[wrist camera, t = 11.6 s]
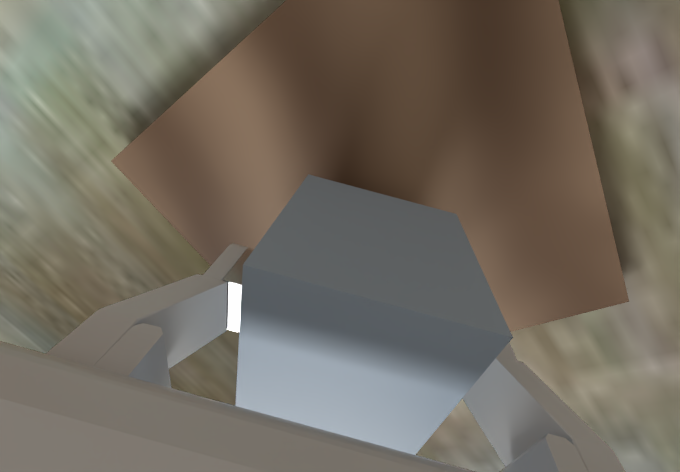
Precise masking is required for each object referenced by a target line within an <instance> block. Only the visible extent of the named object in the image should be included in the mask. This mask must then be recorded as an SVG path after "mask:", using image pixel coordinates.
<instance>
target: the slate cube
mask: <svg viewBox="0 0 680 472" xmlns="http://www.w3.org/2000/svg"><path fill="white" fill-rule="evenodd" d="M512 338H513V337H512V335H511V332H510V330H509V328H508V326H507V324H506V321H505V319H504V317H503V315H502V313H501V310H500V308H499V306H498V304H497V302H496V300H495V297H494V295H493V293H492V291H491V289H490V286H489V284H488V282H487V280H486V278H485V275H484V273H483V271H482V269H481V267H480V264H479V262H478V260H477V258H476V256H475V253H474V251H473V249H472V247H471V245H470V242H469V240H468V238H467V236H466V234H465V232H464V229H463V227H462V225H461V223H460V221H459V218H458V216H457V214H455V213H451V212H447V211H443V210H440V209H436V208H432V207H428V206H425V205H421V204H417V203H413V202H410V201H406V200H402V199H399V198H395V197H391V196H387V195H384V194H380V193H376V192H372V191H369V190H365V189H361V188H357V187H354V186H350V185H346V184H342V183H339V182H335V181H331V180H327V179H324V178H320V177H316V176H313V175H309V174H308V176H307V177H306V178H305V180H304V181H303V183H302V184H301V185H300V187H299V188H298V189H297V191H296V192H295V194H294V195H293V196H292V198H291V199H290V200H289V202H288V203H287V205H286V206H285V207H284V209H283V210H282V211H281V213H280V214H279V216H278V217H277V218H276V220H275V221H274V223H273V224H272V225H271V227H270V228H269V229H268V231H267V232H266V234H265V235H264V236H263V238H262V239H261V240H260V242H259V243H258V245H257V246H256V247H255V249H254V250H253V251H252V253H251V254H250V256H249V257H248V258H247V260H246V261H245V262H244V264H243V273H242V292H241V310H240V329H239V348H238V367H237V386H236V405H235V406H238V407H242V408H245V409H249V410H253V411H256V412H260V413H263V414H267V415H271V416H274V417H278V418H282V419H285V420H289V421H293V422H296V423H300V424H304V425H307V426H311V427H315V428H318V429H322V430H326V431H329V432H333V433H337V434H340V435H344V436H348V437H351V438H355V439H359V440H362V441H366V442H370V443H373V444H377V445H380V446H384V447H388V448H391V449H395V450H399V451H402V452H406V453H410V454H413V455H415V454H416V453H417V452H418V451H419V450H420V448H421V447H422V446H423V445H424V444H425V442H426V441H427V440H428V439H429V438H430V436H431V435H432V434H433V433H434V432H435V430H436V429H437V428H438V427H439V426H440V424H441V423H442V422H443V421H444V420H445V418H446V417H447V416H448V415H449V414H450V412H451V411H452V410H453V409H454V408H455V406H456V405H457V404H458V403H459V402H460V400H461V399H462V398H463V397H464V396H465V394H466V393H467V392H468V391H469V390H470V388H471V387H472V386H473V385H474V384H475V382H476V381H477V380H478V379H479V378H480V376H481V375H482V374H483V373H484V372H485V370H486V369H487V368H488V367H489V366H490V364H491V363H492V362H493V361H494V360H495V358H496V357H497V356H498V355H499V354H500V352H501V351H502V350H503V349H504V348H505V346H506V345H507V344H508V343H509V342H510V340H511V339H512Z"/></svg>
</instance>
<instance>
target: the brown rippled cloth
mask: <svg viewBox="0 0 680 472" xmlns="http://www.w3.org/2000/svg"><path fill="white" fill-rule="evenodd" d="M112 162H113V164H114V165H115V166H116V167H117V168H118V169H119V170H120V171H121V172H122V173H123V174H124V175H125V176H126V177H127V178H128V179H129V180H130V181H131V182H132V184H133V185H134V186H135V187H136V188H137V189H138V190H139V191H140V192H141V193H142V194H143V195H144V196H145V197H146V198H147V199H148V200H149V201H150V202H151V204H152V205H153V206H154V207H155V208H156V209H157V210H158V211H159V212H160V213H161V214H162V215H163V216H164V217H165V218H166V219H167V220H168V221H169V222H170V224H171V225H172V226H173V227H174V228H175V229H176V230H177V231H178V232H179V233H180V234H181V235H182V236H183V237H184V238H185V239H186V240H187V241H188V242H189V244H190V245H191V246H192V247H193V248H194V249H195V250H196V251H197V252H198V253H199V254H200V255H201V256H202V257H203V258H204V259H205V260H206V261H207V262H208V264H209V265H210V266H211V265H212V264H213V263H214V262H215V261H216V260H217V258H218V257H219V256H220V255H221V254H222V253H223V252H224V251H225V249H226V248H227V247H228V246H229V245H230V244H233V243H235V244H238V245H242V246H245V247H248V248H253V249H255V247H256V246H257V245H258V243H259V242H260V240H261V239H262V238H263V236H264V235H265V234H266V232H267V231H268V229H269V228H270V227H271V225H272V224H273V223H274V221H275V220H276V218H277V217H278V216H279V214H280V213H281V211H282V210H283V209H284V207H285V206H286V205H287V203H288V202H289V200H290V199H291V198H292V196H293V195H294V194H295V192H296V191H297V189H298V188H299V187H300V185H301V184H302V183H303V181H304V180H305V178H306V177H307V176H308V174H309V175H313V176H316V177H320V178H324V179H327V180H331V181H335V182H339V183H342V184H346V185H350V186H354V187H357V188H361V189H365V190H369V191H372V192H376V193H380V194H384V195H387V196H391V197H395V198H399V199H402V200H406V201H410V202H413V203H417V204H421V205H425V206H428V207H432V208H436V209H440V210H443V211H447V212H451V213H455V214H457V216H458V218H459V221H460V223H461V225H462V227H463V229H464V232H465V234H466V236H467V238H468V240H469V242H470V245H471V247H472V249H473V251H474V253H475V256H476V258H477V260H478V262H479V264H480V267H481V269H482V271H483V273H484V275H485V278H486V280H487V282H488V284H489V286H490V289H491V291H492V293H493V295H494V297H495V300H496V302H497V304H498V306H499V308H500V310H501V313H502V315H503V317H504V319H505V321H506V324H507V326H508V328H509V330H510V332H511V331H515V330H519V329H523V328H527V327H531V326H535V325H539V324H543V323H547V322H550V321H554V320H558V319H562V318H566V317H570V316H574V315H578V314H582V313H586V312H590V311H593V310H597V309H601V308H605V307H609V306H613V305H617V304H621V303H625V302H629V299H628V295H627V291H626V286H625V282H624V278H623V274H622V269H621V265H620V261H619V256H618V252H617V248H616V244H615V239H614V235H613V231H612V227H611V222H610V218H609V214H608V210H607V205H606V201H605V197H604V193H603V188H602V184H601V180H600V176H599V171H598V167H597V163H596V158H595V154H594V150H593V146H592V141H591V137H590V133H589V129H588V124H587V120H586V116H585V112H584V107H583V103H582V99H581V95H580V90H579V86H578V82H577V77H576V73H575V69H574V65H573V60H572V56H571V52H570V48H569V43H568V39H567V35H566V31H565V26H564V22H563V18H562V14H561V9H560V5H559V1H558V0H286V1H285V2H284V3H283V4H282V5H281V6H279V7H278V8H277V9H276V10H275V11H274V12H273V13H272V14H271V15H270V16H269V17H267V18H266V19H265V20H264V21H263V22H262V23H261V24H260V25H259V26H258V27H257V28H255V29H254V30H253V31H252V32H251V33H250V34H249V35H248V36H247V37H246V38H245V39H243V40H242V41H241V42H240V43H239V44H238V45H237V46H236V47H235V48H234V49H233V50H231V51H230V52H229V53H228V54H227V55H226V56H225V57H224V58H223V59H222V60H221V61H219V62H218V63H217V64H216V65H215V66H214V67H213V68H212V69H211V70H210V71H209V72H208V73H206V74H205V75H204V76H203V77H202V78H201V79H200V80H199V81H198V82H197V83H196V84H194V85H193V86H192V87H191V88H190V89H189V90H188V91H187V92H186V93H185V94H184V95H182V96H181V97H180V98H179V99H178V100H177V101H176V102H175V103H174V104H173V105H172V106H170V107H169V108H168V109H167V110H166V111H165V112H164V113H163V114H162V115H161V116H160V117H158V118H157V119H156V120H155V121H154V122H153V123H152V124H151V125H150V126H149V127H148V128H146V129H145V130H144V131H143V132H142V133H141V134H140V135H139V136H138V137H137V138H136V139H134V140H133V141H132V142H131V143H130V144H129V145H128V146H127V147H126V148H125V149H124V150H122V151H121V152H120V153H119V154H118V155H117V156H116V157H115V158H114V159H113V160H112Z"/></svg>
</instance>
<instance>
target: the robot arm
mask: <svg viewBox="0 0 680 472" xmlns="http://www.w3.org/2000/svg"><path fill="white" fill-rule="evenodd" d="M253 250H254V249H253V248H248V247H245V246H242V245H238V244H235V243H233V244H230V245H229V246H228V247H227V248H226V249H225V251H224V252H223V253H222V254H221V255H220V256H219V257H218V258H217V260H216V261H215V262H214V263H213V264H212V265H211V266H210V267H209V269H208V270H207V271H206V272H205V273H204V274H203V275H200V274H196V275H193V276H190V277H187V278H185V279H182V280H179V281H176V282H173V283H171V284H168V285H165V286H162V287H159V288H156V289H154V290H151V291H148V292H145V293H142V294H140V295H137V296H134V297H131V298H128V299H126V300H123V301H120V302H117V303H114V304H111V305H109V306H106V307H103V308H100V309H98V310H97V311H96V312H95V313H94V314H92V315H91V316H90V317H89V318H88V319H86V320H85V321H84V322H83V323H82V324H80V325H79V326H78V327H77V328H76V329H75V330H73V331H72V332H71V333H70V334H69V335H67V336H66V337H65V338H64V339H63V340H61V341H60V342H59V343H58V344H57V345H55V346H54V347H53V348H52V349H51V350H49V351H48V352H47V353H46V354H45V353H42V352H38V351H34V350H31V349H27V348H24V347H20V346H16V345H13V344H9V343H5V342H2V341H0V472H475V471H472V470H468V469H464V468H461V467H457V466H453V465H450V464H446V463H442V462H439V461H435V460H431V459H428V458H424V457H421V456H417V455H413V454H410V453H406V452H402V451H399V450H395V449H391V448H388V447H384V446H380V445H377V444H373V443H370V442H366V441H362V440H359V439H355V438H351V437H348V436H344V435H340V434H337V433H333V432H329V431H326V430H322V429H318V428H315V427H311V426H307V425H304V424H300V423H296V422H293V421H289V420H285V419H282V418H278V417H274V416H271V415H267V414H263V413H260V412H256V411H253V410H249V409H245V408H242V407H238V406H234V405H231V404H227V403H223V402H220V401H216V400H213V399H209V398H205V397H202V396H198V395H194V394H191V393H187V392H183V391H180V390H176V389H173V388H171V381H170V375H169V369H170V368H171V367H173V366H174V365H176V364H177V363H179V362H180V361H182V360H183V359H185V358H186V357H188V356H189V355H191V354H192V353H194V352H195V351H197V350H198V349H200V348H201V347H203V346H204V345H206V344H207V343H209V342H210V341H212V340H214V339H215V338H217V337H218V336H220V335H221V334H223V333H224V332H226V329H228V330H232V331H236V332H239V329H240V310H241V292H242V273H243V264H244V262H245V261H246V260H247V258H248V257H249V256H250V254H251V253H252V251H253ZM462 399H463V400H464V402H465V403H466V405H467V406H468V408H469V410H470V411H471V413H472V414H473V416H474V418H475V419H476V421H477V422H478V424H479V426H480V427H481V429H482V430H483V432H484V434H485V435H486V437H487V438H488V440H489V441H490V443H491V445H492V446H493V448H494V449H495V451H496V453H497V454H498V456H499V457H500V459H501V461H502V462H503V464H504V465H505V468H503V469H502V470H501V471H500V472H626V471H625V470H624V468H623V466H622V465H621V463H620V461H619V459H618V458H617V456H616V454H615V453H614V451H613V449H611V448H610V447H609V446H608V445H607V444H606V443H605V442H604V441H603V440H602V439H601V438H600V437H599V436H598V435H597V434H596V433H595V432H594V431H593V430H592V429H591V428H590V427H589V426H588V425H587V424H586V423H585V422H584V421H583V420H582V419H581V418H580V417H579V416H578V415H577V414H576V413H575V412H574V411H572V410H571V409H570V408H569V407H568V406H567V405H566V404H565V403H564V402H563V401H562V400H561V399H560V398H559V397H558V396H557V395H556V394H555V393H554V392H553V391H552V390H551V389H550V388H549V387H548V386H547V385H546V384H545V383H544V382H543V381H542V380H541V379H540V378H539V377H538V376H537V375H536V374H535V373H533V372H532V371H531V370H530V369H529V368H528V367H527V366H526V365H525V364H524V363H523V362H520V361H517V359H516V356H515V354H514V352H513V350H512V347H511V345H510V343H508V344H507V345H506V346H505V348H504V349H503V350H502V351H501V352H500V354H499V355H498V356H497V357H496V358H495V360H494V361H493V362H492V363H491V364H490V366H489V367H488V368H487V369H486V370H485V372H484V373H483V374H482V375H481V376H480V378H479V379H478V380H477V381H476V382H475V384H474V385H473V386H472V387H471V388H470V390H469V391H468V392H467V393H466V394H465V396H464V397H463V398H462Z"/></svg>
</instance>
